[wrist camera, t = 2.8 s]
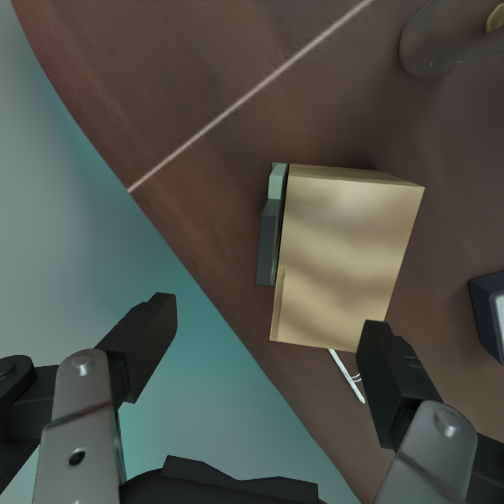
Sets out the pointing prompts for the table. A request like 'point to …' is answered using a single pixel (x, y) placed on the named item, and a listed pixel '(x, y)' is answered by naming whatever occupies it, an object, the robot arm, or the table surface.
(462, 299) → the table surface
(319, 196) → the cabinet
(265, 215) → the sliding door
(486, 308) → the calculator
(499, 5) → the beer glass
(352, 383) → the picture light
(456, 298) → the table surface
